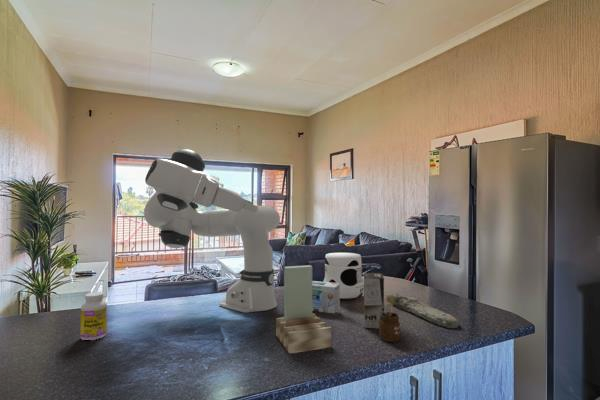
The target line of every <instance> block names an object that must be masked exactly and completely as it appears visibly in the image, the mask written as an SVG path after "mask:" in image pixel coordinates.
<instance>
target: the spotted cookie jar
mask: <svg viewBox="0 0 600 400" xmlns="http://www.w3.org/2000/svg"><path fill="white" fill-rule="evenodd" d="M362 266H363V265H362V256H361V254H359V253H355V252H329V253H326V254H325V257H324V279H323V281H322V282H331V283H340V301H351V300H356V299H359V298H361V297H362V296H363V295H364V279H363V276H362V274H363V273H362V269H363V267H362Z"/></svg>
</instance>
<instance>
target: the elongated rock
mask: <svg viewBox="0 0 600 400" xmlns="http://www.w3.org/2000/svg"><path fill="white" fill-rule="evenodd" d="M388 295H389V303H390V295H391V303H392V295H393V306H394V307H396V309H399V310H403V311H405V312H408V313H411V314H413V315H415V316H416V317H420V318H422V319H424V320H426V321H427V322H429V323H432V324H434V325H437V326H440V327H443V328H447V329H457V328H459V321H458V319H457V318H456V317H455V316H454V315H451V314H449V313H446V312H445V311H442V310H440V309H439V308H435V307H433V306H430V305H429V304H427V303H424V301H422V300H421V299H418V298H416V297H413V296H411V295H410V296H407V295H404V294H399V293H397V292H395V293H391V292H390V293H386V296H385V300H386V302H388Z"/></svg>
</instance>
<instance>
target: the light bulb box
mask: <svg viewBox="0 0 600 400" xmlns="http://www.w3.org/2000/svg"><path fill="white" fill-rule="evenodd" d="M340 302H341V300H340V283H331V282H323V281H317V280H312V312H320V313H327V314H335V313H337V314H339V313H340V311H341V309H340V308H341V305H340V304H341V303H340Z"/></svg>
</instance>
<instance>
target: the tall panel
mask: <svg viewBox="0 0 600 400" xmlns="http://www.w3.org/2000/svg"><path fill="white" fill-rule="evenodd" d="M283 268H284V269H283V274H284V275H283V304H284V305H283V317H284V322H286V320H289V319H297V318H305V317H312V314H313V311H312V282H313V266H312V265H311V264H307V265H293V266H292V265H290V266H284V267H283Z"/></svg>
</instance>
